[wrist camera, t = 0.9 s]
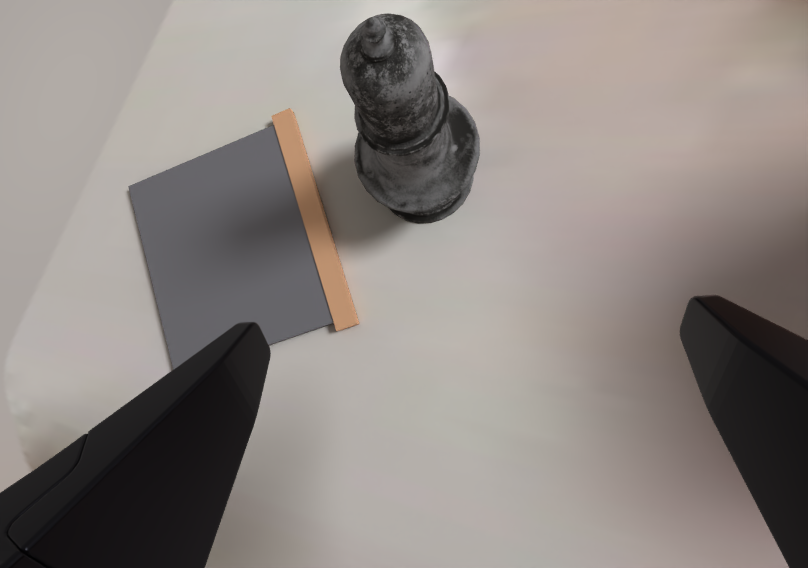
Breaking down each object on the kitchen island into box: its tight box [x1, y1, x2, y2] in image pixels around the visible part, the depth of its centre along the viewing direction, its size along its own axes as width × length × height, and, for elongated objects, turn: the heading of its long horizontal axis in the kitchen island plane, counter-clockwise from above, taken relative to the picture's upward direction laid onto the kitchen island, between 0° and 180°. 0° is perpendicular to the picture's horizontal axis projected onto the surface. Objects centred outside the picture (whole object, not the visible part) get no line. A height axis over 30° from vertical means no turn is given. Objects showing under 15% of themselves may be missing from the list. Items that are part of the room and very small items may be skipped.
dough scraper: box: [128, 108, 359, 370], centre depth 24 cm, size 11×13×1 cm
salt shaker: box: [340, 14, 480, 223], centre depth 17 cm, size 6×6×12 cm
